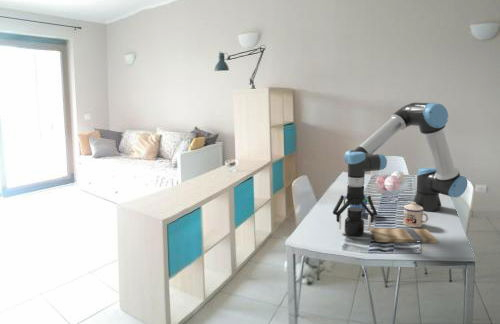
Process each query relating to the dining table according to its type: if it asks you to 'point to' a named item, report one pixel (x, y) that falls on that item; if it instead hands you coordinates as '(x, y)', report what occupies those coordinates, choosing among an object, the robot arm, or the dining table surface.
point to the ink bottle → (354, 222)
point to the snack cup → (360, 205)
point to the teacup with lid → (413, 215)
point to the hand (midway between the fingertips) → (354, 228)
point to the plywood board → (402, 235)
